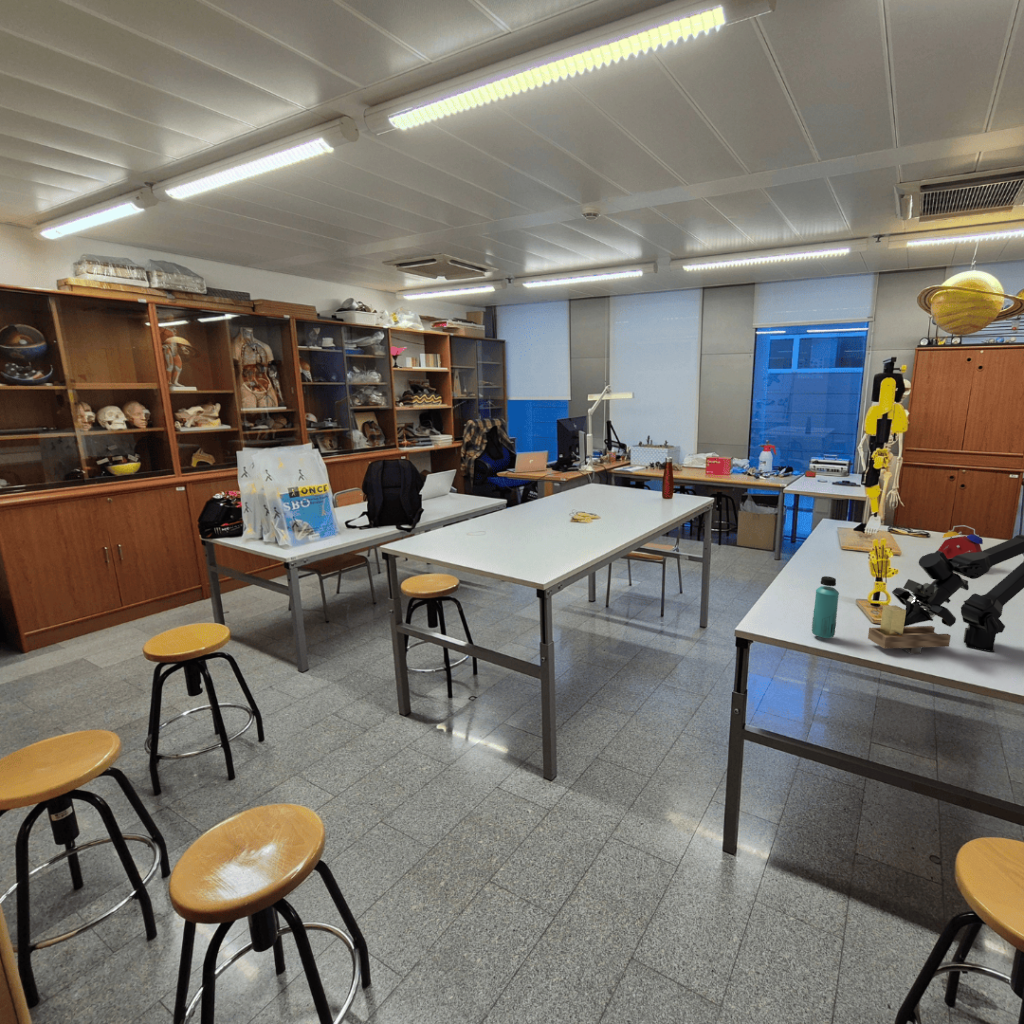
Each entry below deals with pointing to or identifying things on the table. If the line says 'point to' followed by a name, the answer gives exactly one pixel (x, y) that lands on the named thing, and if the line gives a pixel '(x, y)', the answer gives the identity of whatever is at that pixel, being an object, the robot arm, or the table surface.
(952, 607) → the table surface
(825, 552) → the table surface
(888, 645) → the wooden footed tray
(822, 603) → the beverage bottle
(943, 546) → the alarm clock
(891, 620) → the beige upright block
